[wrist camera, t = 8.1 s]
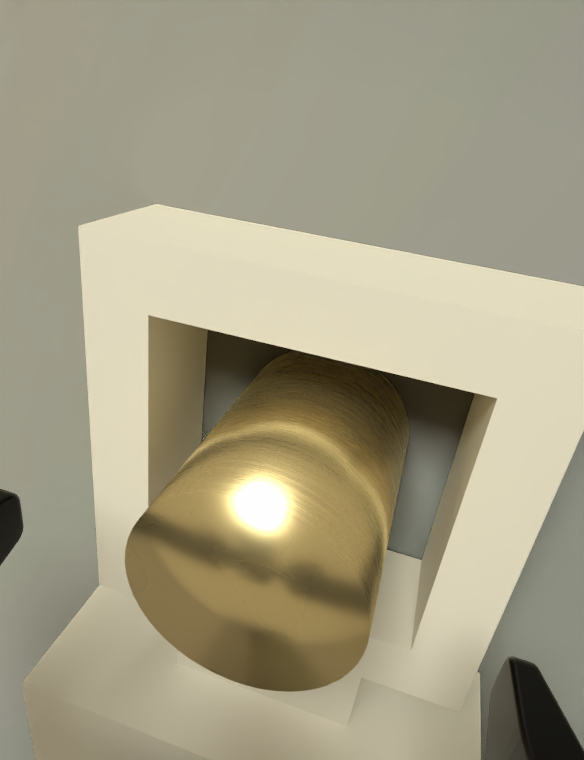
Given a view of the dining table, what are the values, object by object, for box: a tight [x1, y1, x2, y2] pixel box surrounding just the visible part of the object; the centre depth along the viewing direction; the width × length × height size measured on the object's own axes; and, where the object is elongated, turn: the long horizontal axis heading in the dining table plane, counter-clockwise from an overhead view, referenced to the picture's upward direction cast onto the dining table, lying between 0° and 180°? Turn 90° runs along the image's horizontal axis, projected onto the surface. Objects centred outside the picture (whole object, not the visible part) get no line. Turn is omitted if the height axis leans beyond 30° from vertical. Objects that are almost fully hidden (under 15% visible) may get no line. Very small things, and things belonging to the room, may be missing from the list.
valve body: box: [22, 204, 584, 760], centre depth 13 cm, size 12×20×8 cm, turn 172°
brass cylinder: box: [125, 350, 409, 692], centre depth 12 cm, size 4×4×6 cm
